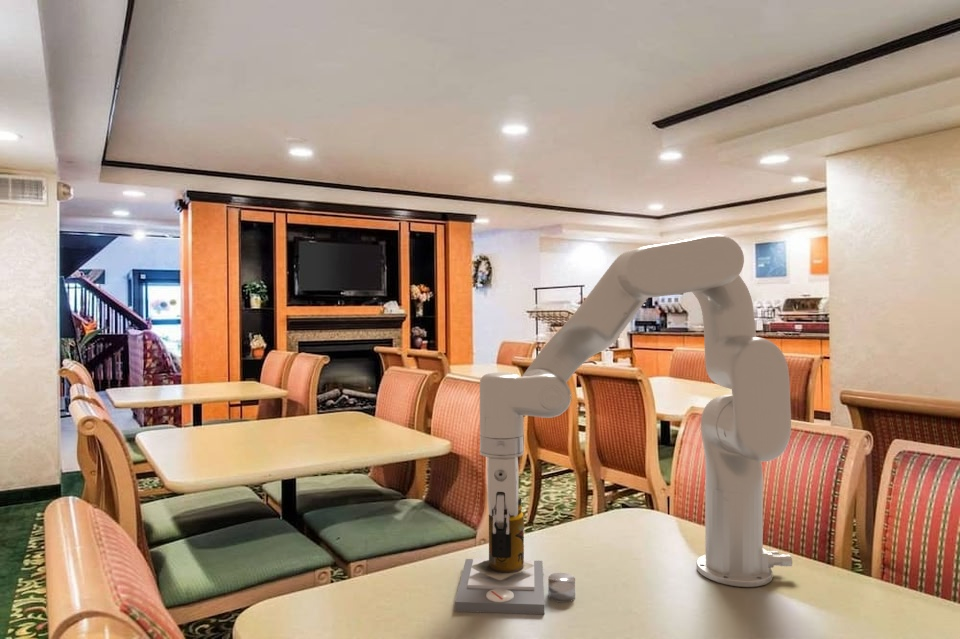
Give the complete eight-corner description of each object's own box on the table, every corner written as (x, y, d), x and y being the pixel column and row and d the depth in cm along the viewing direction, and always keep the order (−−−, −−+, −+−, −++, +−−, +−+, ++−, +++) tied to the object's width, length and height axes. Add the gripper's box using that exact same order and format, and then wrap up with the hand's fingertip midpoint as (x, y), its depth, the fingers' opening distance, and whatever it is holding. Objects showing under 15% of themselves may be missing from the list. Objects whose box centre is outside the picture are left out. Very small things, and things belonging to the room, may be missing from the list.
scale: (542, 568, 115) (542, 558, 115) (544, 614, 98) (544, 601, 98) (465, 566, 116) (465, 556, 116) (454, 611, 99) (454, 598, 99)
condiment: (534, 566, 109) (534, 497, 109) (500, 581, 103) (499, 508, 103) (504, 554, 114) (503, 488, 114) (469, 568, 108) (469, 498, 108)
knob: (574, 590, 106) (574, 573, 106) (576, 603, 102) (576, 584, 102) (548, 590, 107) (547, 572, 107) (548, 602, 102) (548, 583, 102)
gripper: (522, 457, 100) (523, 570, 100) (524, 435, 117) (524, 531, 117) (475, 456, 100) (476, 569, 101) (483, 434, 118) (484, 530, 118)
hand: (502, 548), depth 109 cm, fingers closed on condiment, 6 cm apart
